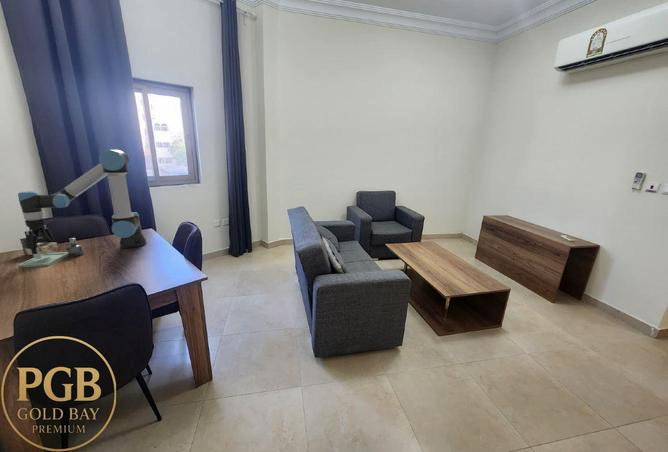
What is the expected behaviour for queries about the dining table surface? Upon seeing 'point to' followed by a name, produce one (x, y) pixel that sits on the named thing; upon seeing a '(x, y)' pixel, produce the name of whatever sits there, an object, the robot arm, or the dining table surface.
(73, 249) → the dark grey rounded piece
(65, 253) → the tray
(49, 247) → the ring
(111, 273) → the dining table surface
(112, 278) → the dining table surface
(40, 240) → the small box
